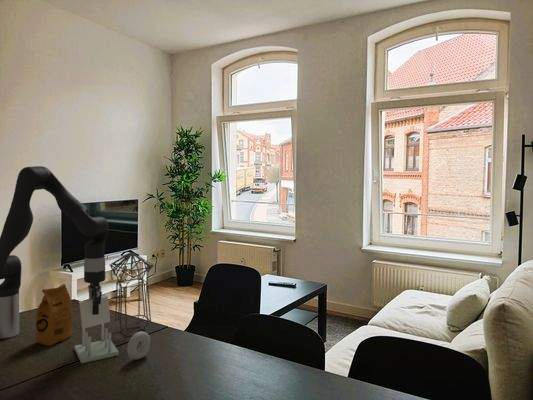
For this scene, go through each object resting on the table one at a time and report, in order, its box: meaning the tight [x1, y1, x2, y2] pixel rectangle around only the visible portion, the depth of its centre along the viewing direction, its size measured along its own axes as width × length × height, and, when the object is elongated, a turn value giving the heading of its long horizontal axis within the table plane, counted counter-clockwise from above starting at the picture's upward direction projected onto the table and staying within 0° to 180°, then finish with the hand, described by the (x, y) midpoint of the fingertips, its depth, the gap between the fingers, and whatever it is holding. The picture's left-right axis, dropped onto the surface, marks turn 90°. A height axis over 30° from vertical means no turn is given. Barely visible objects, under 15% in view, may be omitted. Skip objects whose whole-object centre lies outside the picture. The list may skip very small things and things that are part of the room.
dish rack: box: [74, 323, 120, 364], centre depth 154 cm, size 14×13×8 cm
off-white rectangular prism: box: [78, 295, 111, 329], centre depth 156 cm, size 2×10×10 cm, turn 124°
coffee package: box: [35, 283, 73, 347], centre depth 165 cm, size 10×12×22 cm
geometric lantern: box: [109, 252, 155, 337], centre depth 174 cm, size 16×16×35 cm
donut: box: [126, 330, 151, 361], centre depth 149 cm, size 10×4×10 cm, turn 150°
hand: (94, 313), depth 156 cm, fingers closed on off-white rectangular prism, 2 cm apart
